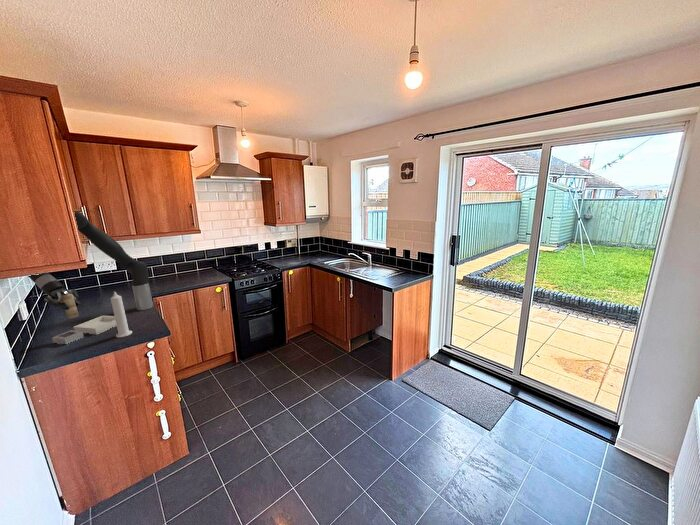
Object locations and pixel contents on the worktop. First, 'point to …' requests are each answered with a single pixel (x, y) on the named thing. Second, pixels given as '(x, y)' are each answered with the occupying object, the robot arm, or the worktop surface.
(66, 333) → the collar
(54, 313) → the worktop surface
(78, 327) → the tray
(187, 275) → the worktop surface
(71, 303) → the peg
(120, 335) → the candle
